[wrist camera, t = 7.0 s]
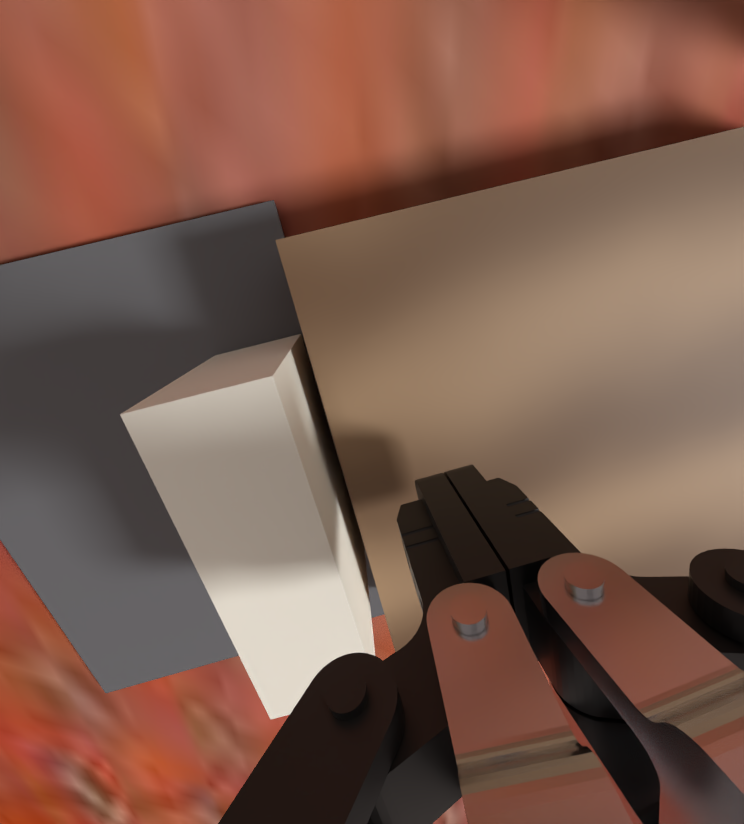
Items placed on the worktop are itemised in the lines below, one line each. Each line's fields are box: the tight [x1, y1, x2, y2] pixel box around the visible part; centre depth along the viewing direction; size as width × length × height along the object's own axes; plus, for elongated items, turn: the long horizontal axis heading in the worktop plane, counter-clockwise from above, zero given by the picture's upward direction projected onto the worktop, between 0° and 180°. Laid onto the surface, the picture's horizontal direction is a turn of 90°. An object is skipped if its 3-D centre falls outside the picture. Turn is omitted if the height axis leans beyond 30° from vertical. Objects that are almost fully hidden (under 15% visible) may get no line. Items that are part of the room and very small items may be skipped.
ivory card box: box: [120, 334, 375, 719], centre depth 12 cm, size 9×6×3 cm
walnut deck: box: [275, 127, 744, 652], centre depth 13 cm, size 14×17×4 cm
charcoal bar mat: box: [0, 200, 384, 693], centre depth 15 cm, size 17×13×1 cm
